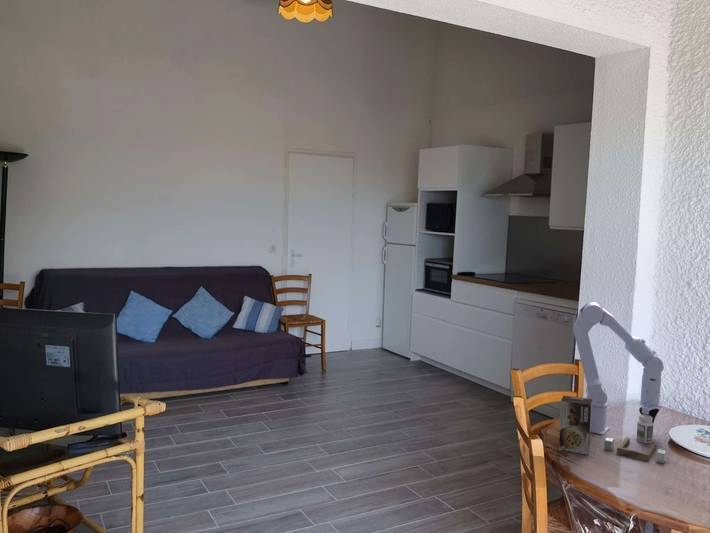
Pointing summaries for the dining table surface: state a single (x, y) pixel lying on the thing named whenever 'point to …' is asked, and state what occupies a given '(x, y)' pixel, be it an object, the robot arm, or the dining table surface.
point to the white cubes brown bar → (635, 454)
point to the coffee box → (575, 424)
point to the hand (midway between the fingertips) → (647, 429)
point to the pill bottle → (645, 429)
